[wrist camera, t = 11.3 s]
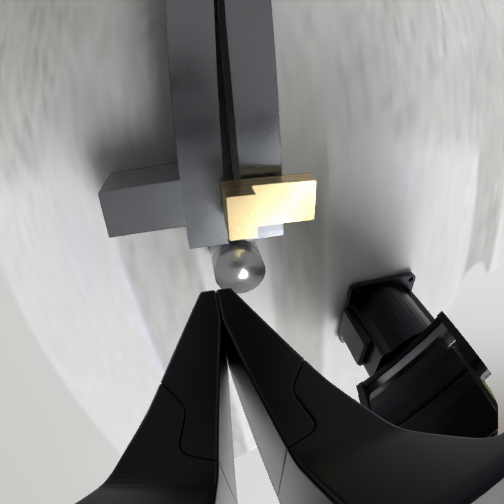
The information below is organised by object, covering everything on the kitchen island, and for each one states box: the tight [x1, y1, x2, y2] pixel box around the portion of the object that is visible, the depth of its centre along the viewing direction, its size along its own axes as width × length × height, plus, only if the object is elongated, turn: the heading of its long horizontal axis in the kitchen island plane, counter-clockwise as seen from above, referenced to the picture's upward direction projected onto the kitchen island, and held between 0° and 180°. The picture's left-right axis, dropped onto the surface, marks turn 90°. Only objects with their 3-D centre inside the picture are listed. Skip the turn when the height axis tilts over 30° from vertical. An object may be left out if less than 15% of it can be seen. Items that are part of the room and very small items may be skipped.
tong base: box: [98, 0, 229, 249], centre depth 12 cm, size 6×18×3 cm, turn 2°
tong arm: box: [210, 0, 284, 293], centre depth 14 cm, size 4×21×3 cm, turn 4°
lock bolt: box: [221, 173, 316, 241], centre depth 14 cm, size 4×2×2 cm, turn 92°
